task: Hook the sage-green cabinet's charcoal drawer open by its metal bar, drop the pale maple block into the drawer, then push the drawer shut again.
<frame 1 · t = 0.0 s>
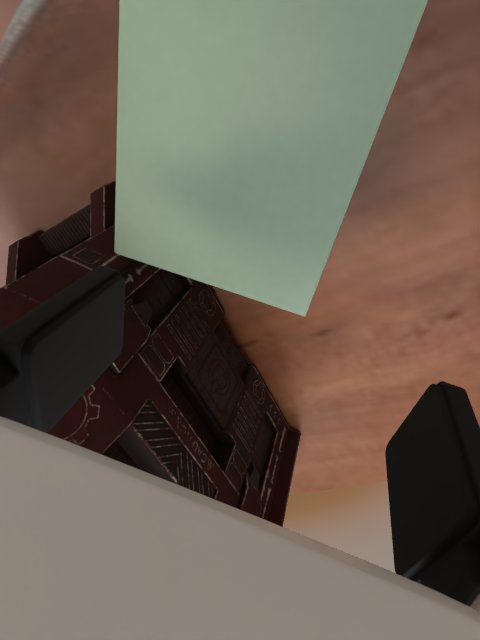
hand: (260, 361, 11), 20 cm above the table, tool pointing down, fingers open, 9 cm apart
crate: (174, 357, 39), on the table, touching cabinet
cabinet: (270, 133, 26), on the table
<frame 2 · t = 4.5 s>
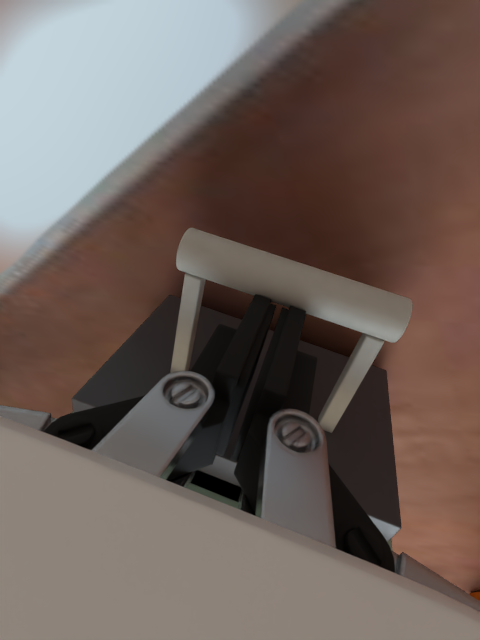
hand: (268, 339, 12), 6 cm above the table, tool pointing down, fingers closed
cabinet: (238, 435, 24), on the table
drawer: (234, 444, 17), point 5 cm above the table, slide at 0.7 cm, touching gripper
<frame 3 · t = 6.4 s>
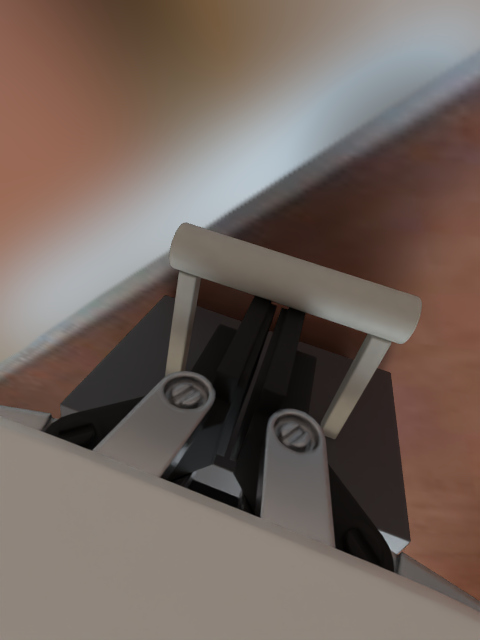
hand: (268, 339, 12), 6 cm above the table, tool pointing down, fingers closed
drawer: (233, 450, 17), point 5 cm above the table, slide at 7.5 cm, touching gripper
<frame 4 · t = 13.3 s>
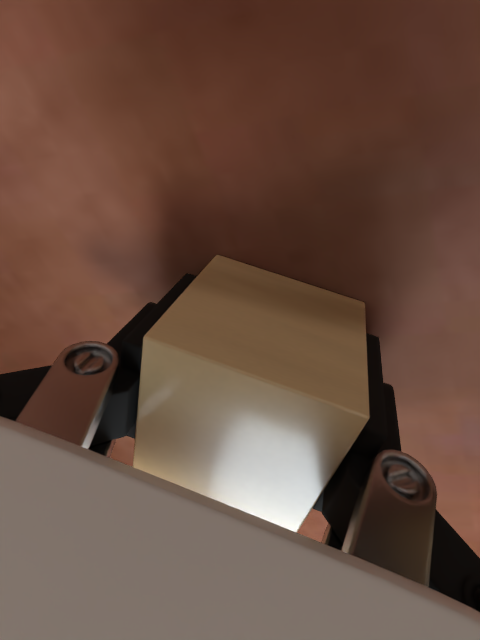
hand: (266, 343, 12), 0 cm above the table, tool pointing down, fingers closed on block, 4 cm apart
block: (269, 337, 12), on the table, touching gripper
when the fingers open (8 cm above the table, at t = 20.5 s): block drops 6 cm, resting on drawer.
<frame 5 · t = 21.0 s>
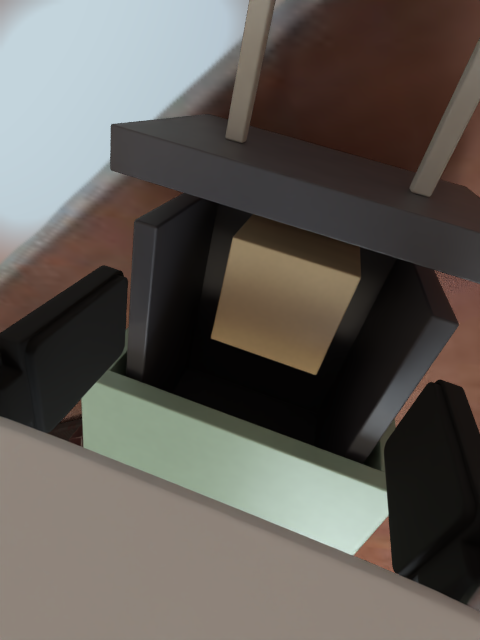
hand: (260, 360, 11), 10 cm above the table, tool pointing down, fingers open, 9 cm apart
block: (294, 265, 17), point 2 cm above the table, touching drawer
crate: (161, 534, 39), on the table, touching cabinet
cabinet: (248, 399, 25), on the table
drawer: (289, 273, 15), point 5 cm above the table, slide at 7.6 cm, touching block
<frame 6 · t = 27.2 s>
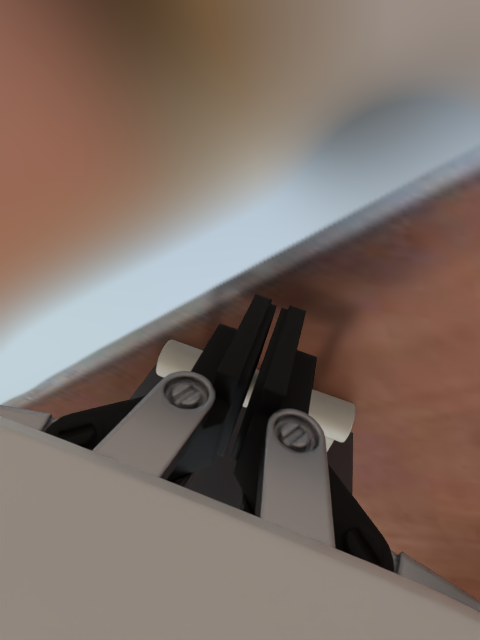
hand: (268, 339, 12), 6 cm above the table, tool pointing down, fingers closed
drawer: (216, 501, 19), point 5 cm above the table, slide at 6.9 cm, touching block, gripper
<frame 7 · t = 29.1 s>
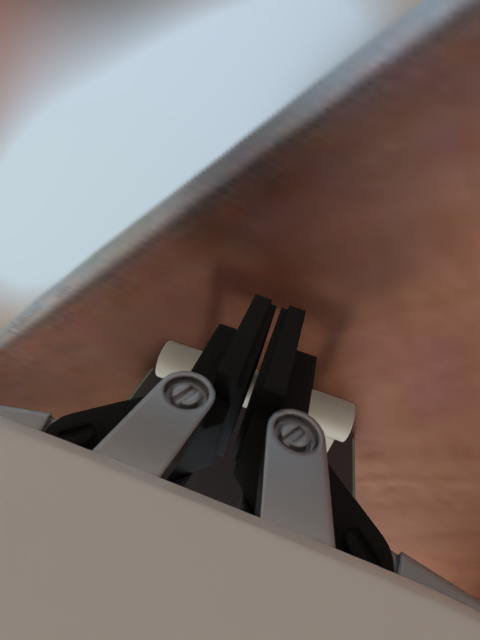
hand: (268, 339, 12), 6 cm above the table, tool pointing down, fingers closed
drawer: (216, 504, 19), point 5 cm above the table, slide at 0.0 cm, touching block, cabinet, gripper
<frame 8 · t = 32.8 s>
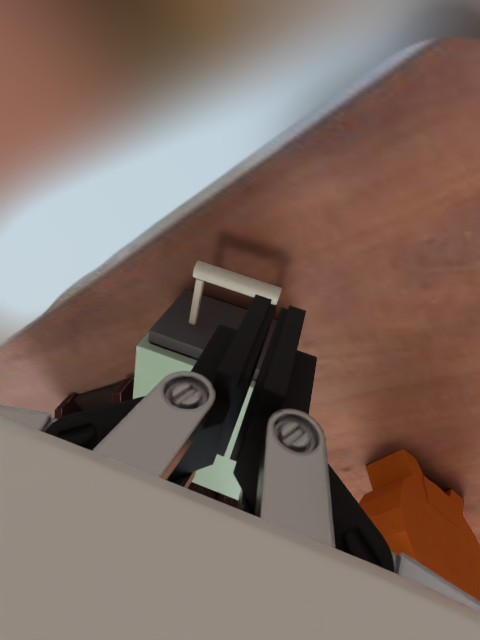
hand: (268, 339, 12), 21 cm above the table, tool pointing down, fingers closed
alarm clock: (412, 481, 43), on the table
crate: (169, 471, 55), on the table, touching cabinet
cabinet: (224, 368, 41), on the table
drawer: (219, 363, 35), point 5 cm above the table, slide at 0.0 cm, touching block
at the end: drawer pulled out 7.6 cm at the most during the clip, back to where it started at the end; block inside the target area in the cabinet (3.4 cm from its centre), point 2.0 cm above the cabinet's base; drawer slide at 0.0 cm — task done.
